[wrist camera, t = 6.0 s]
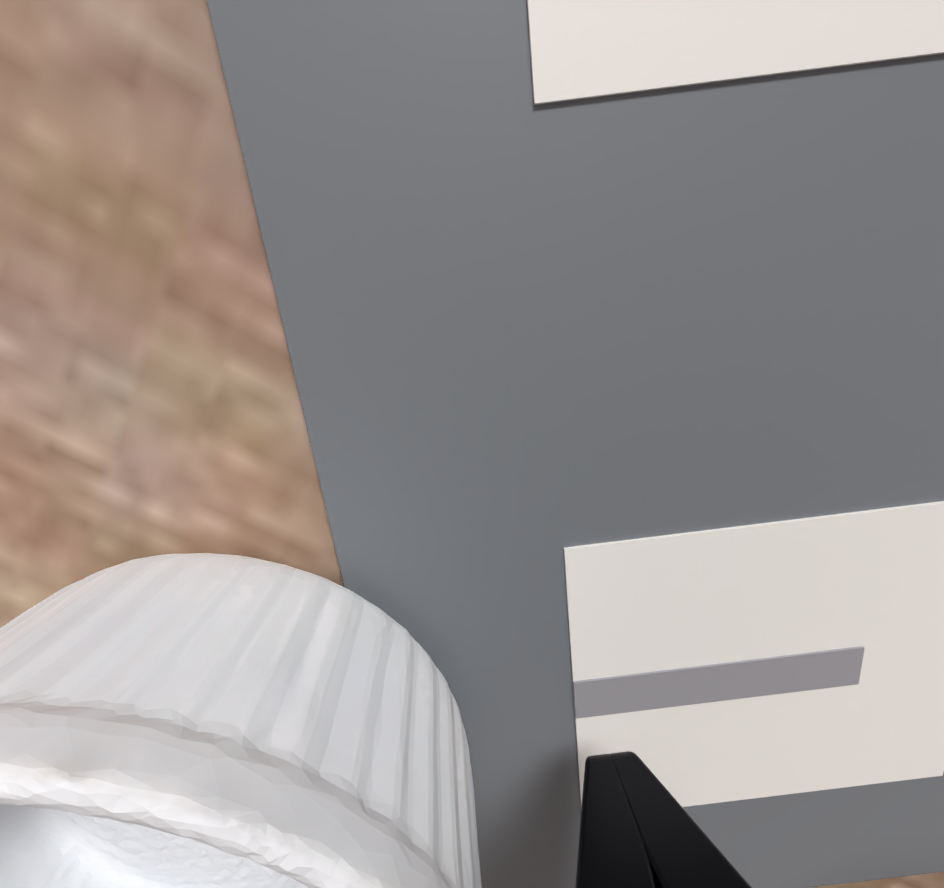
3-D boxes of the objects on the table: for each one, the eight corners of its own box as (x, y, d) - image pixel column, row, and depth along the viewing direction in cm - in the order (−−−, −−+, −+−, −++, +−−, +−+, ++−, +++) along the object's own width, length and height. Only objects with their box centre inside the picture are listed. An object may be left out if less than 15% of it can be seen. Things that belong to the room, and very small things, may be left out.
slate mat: (2065, -1733, 3) (2216, -1919, 3) (1067, 845, 11) (1083, 860, 11) (-120, -1433, 3) (-172, -1588, 3) (426, 922, 11) (425, 939, 11)
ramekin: (-126, 694, 9) (-637, 1067, 5) (246, 393, 7) (-52, 571, 3) (244, 951, 11) (115, 1344, 7) (590, 772, 10) (682, 1158, 5)
